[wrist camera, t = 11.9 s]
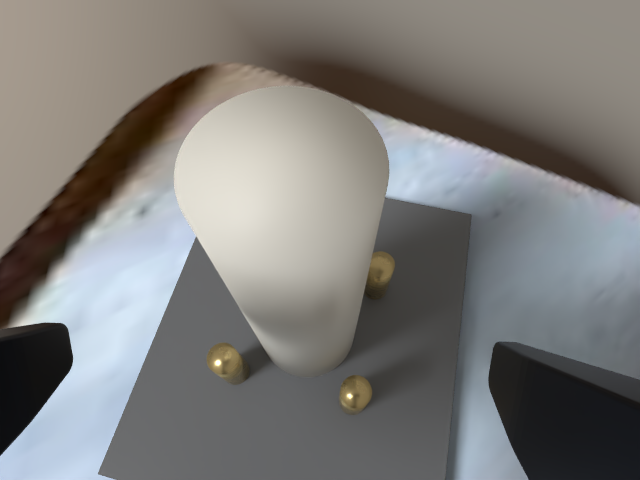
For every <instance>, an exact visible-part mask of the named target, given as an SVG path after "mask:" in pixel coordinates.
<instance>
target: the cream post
mask: <svg viewBox="0 0 640 480" xmlns="http://www.w3.org/2000/svg"><path fill="white" fill-rule="evenodd" d="M388 179H389V160H388V155H387V150H386V147H385V144H384V142H383V139H382V137H381V136H380V134H379V132H378V130H377V129H376V127H375V126H374V125H373V123H372V122H371V121H370V120H369V119H368V118H367V117H366V116H365V115H364V114H363V113H362V112H361V111H360V110H359V109H357V108H356V107H355V106H354V105H352V104H350V103H349V102H347V101H345V100H344V99H342V98H340V97H337V96H335V95H333V94H330V93H327V92H324V91H321V90H317V89H313V88H308V87H300V86H274V87H267V88H261V89H256V90H253V91H249V92H246V93H243V94H240V95H238V96H235V97H233V98H231V99H229V100H227V101H225V102H223V103H222V104H220V105H218V106H217V107H215V108H214V109H212V110H211V111H210V112H209V113H207V114H206V115H205V116H204V117H203V118H202V119H201V120H200V121H199V122H198V123H197V124H196V125H195V126H194V127H193V129H192V130H191V131H190V133H189V134H188V135H187V137H186V139H185V141H184V142H183V144H182V146H181V148H180V151H179V153H178V156H177V160H176V164H175V170H174V187H175V194H176V198H177V201H178V204H179V206H180V209H181V211H182V213H183V215H184V217H185V218H186V220H187V222H188V223H189V225H190V227H191V228H192V230H193V232H194V233H195V235H196V237H197V238H198V240H199V242H200V243H201V245H202V247H203V248H204V250H205V252H206V253H207V255H208V257H209V258H210V260H211V262H212V263H213V265H214V266H215V268H216V270H217V271H218V273H219V275H220V276H221V278H222V280H223V281H224V283H225V285H226V286H227V288H228V290H229V291H230V293H231V295H232V296H233V298H234V300H235V301H236V303H237V305H238V306H239V308H240V310H241V311H242V313H243V315H244V316H245V318H246V320H247V321H248V323H249V325H250V326H251V328H252V330H253V331H254V333H255V334H256V336H257V338H258V339H259V341H260V343H261V344H262V346H263V348H264V349H265V351H266V353H267V354H268V356H269V357H270V359H271V360H272V361H273V363H274V364H275V365H276V366H278V367H279V368H280V369H282V370H283V371H285V372H287V373H289V374H291V375H294V376H299V377H316V376H320V375H323V374H326V373H328V372H330V371H332V370H333V369H335V368H336V367H337V366H338V365H340V364H341V363H342V362H343V360H344V359H345V358H346V356H347V355H348V353H349V351H350V349H351V347H352V343H353V340H354V335H355V331H356V326H357V322H358V317H359V313H360V308H361V303H362V299H363V294H364V290H365V285H366V281H367V276H368V272H369V267H370V263H371V258H372V254H373V249H374V245H375V240H376V236H377V231H378V227H379V222H380V218H381V213H382V209H383V204H384V200H385V195H386V191H387V186H388Z"/></svg>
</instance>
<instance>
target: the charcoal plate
mask: <svg viewBox="0 0 640 480" xmlns="http://www.w3.org/2000/svg"><path fill="white" fill-rule="evenodd" d="M470 225H471V214H466V213H461V212H455V211H450V210H445V209H440V208H435V207H429V206H424V205H419V204H414V203H409V202H403V201H398V200H393V199H388V198H385V200H384V204H383V209H382V213H381V218H380V222H379V227H378V231H377V236H376V240H375V245H374V249H373V254H372V258H371V263H370V267H369V272H368V276H367V281H366V285H365V290H364V294H363V299H362V303H361V308H360V313H359V317H358V322H357V326H356V331H355V335H354V340H353V343H352V347H351V349H350V351H349V353H348V355H347V356H346V358H345V359H344V360H343V362H342V363H341V364H340V365H338V366H337V367H336V368H335V369H333V370H332V371H330V372H328V373H326V374H323V375H320V376H316V377H299V376H294V375H291V374H289V373H287V372H285V371H283V370H282V369H280V368H279V367H278V366H276V365H275V364H274V363H273V361H272V360H271V359H270V357H269V356H268V354H267V353H266V351H265V349H264V348H263V346H262V344H261V343H260V341H259V339H258V338H257V336H256V334H255V333H254V331H253V330H252V328H251V326H250V325H249V323H248V321H247V320H246V318H245V316H244V315H243V313H242V311H241V310H240V308H239V306H238V305H237V303H236V301H235V300H234V298H233V296H232V295H231V293H230V291H229V290H228V288H227V286H226V285H225V283H224V281H223V280H222V278H221V276H220V275H219V273H218V271H217V270H216V268H215V266H214V265H213V263H212V262H211V260H210V258H209V257H208V255H207V253H206V252H205V250H204V248H203V247H202V245H201V243H200V242H199V240H198V238H197V237H196V238H195V241H194V243H193V245H192V248H191V250H190V253H189V255H188V257H187V260H186V262H185V265H184V267H183V270H182V272H181V274H180V277H179V279H178V282H177V284H176V286H175V289H174V291H173V294H172V296H171V298H170V301H169V303H168V306H167V308H166V311H165V313H164V315H163V318H162V320H161V323H160V325H159V327H158V330H157V332H156V335H155V337H154V339H153V342H152V344H151V347H150V349H149V352H148V354H147V356H146V359H145V361H144V364H143V366H142V368H141V371H140V373H139V376H138V378H137V380H136V383H135V385H134V388H133V390H132V393H131V395H130V397H129V400H128V402H127V405H126V407H125V409H124V412H123V414H122V417H121V419H120V421H119V424H118V426H117V429H116V431H115V433H114V436H113V438H112V441H111V443H110V446H109V448H108V450H107V453H106V455H105V458H104V460H103V462H102V465H101V467H100V470H99V472H98V474H99V475H102V476H106V477H109V478H113V479H116V480H445V477H446V467H447V457H448V447H449V436H450V426H451V416H452V406H453V396H454V386H455V376H456V366H457V356H458V346H459V336H460V326H461V316H462V306H463V296H464V286H465V276H466V266H467V255H468V245H469V235H470Z"/></svg>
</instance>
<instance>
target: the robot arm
mask: <svg viewBox="0 0 640 480" xmlns="http://www.w3.org/2000/svg"><path fill="white" fill-rule="evenodd" d="M72 363H73V354H72V349H71V343H70V337H69V332H68V328H67V327H66V326H65V325H64V324H62V323H39V324H33V325H26V326H20V327H13V328H7V329H0V456H1V455H2V454H3V452H4V451H5V450H6V449H7V448H8V447H9V446H10V445H11V444H12V443H13V441H14V440H15V439H16V438H17V437H18V436H19V435H20V434H21V433H22V432H23V430H24V429H25V428H26V427H27V426H28V425H29V424H30V422H31V421H32V420H33V419H34V417H35V416H36V415H37V414H38V412H39V411H40V410H41V408H42V407H43V406H44V404H45V403H46V402H47V400H48V399H49V398H50V396H51V395H52V394H53V392H54V391H55V390H56V388H57V387H58V386H59V384H60V383H61V382H62V381H63V379H64V378H65V377H66V375H67V374H68V373H69V371H70V369H71V367H72ZM489 388H490V392H491V394H492V397H493V399H494V402H495V405H496V407H497V410H498V413H499V415H500V418H501V420H502V423H503V426H504V428H505V431H506V434H507V436H508V439H509V441H510V443H511V446H512V448H513V450H514V452H515V454H516V456H517V458H518V460H519V462H520V464H521V466H522V467H523V469H524V471H525V473H526V475H527V477H528V479H529V480H640V380H638V379H635V378H632V377H628V376H625V375H622V374H618V373H615V372H612V371H609V370H605V369H602V368H599V367H595V366H592V365H589V364H586V363H582V362H579V361H576V360H572V359H569V358H566V357H563V356H559V355H556V354H553V353H549V352H546V351H543V350H539V349H536V348H533V347H530V346H526V345H523V344H520V343H516V342H497V343H496V344H495V345H494V348H493V353H492V359H491V365H490V371H489Z"/></svg>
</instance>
